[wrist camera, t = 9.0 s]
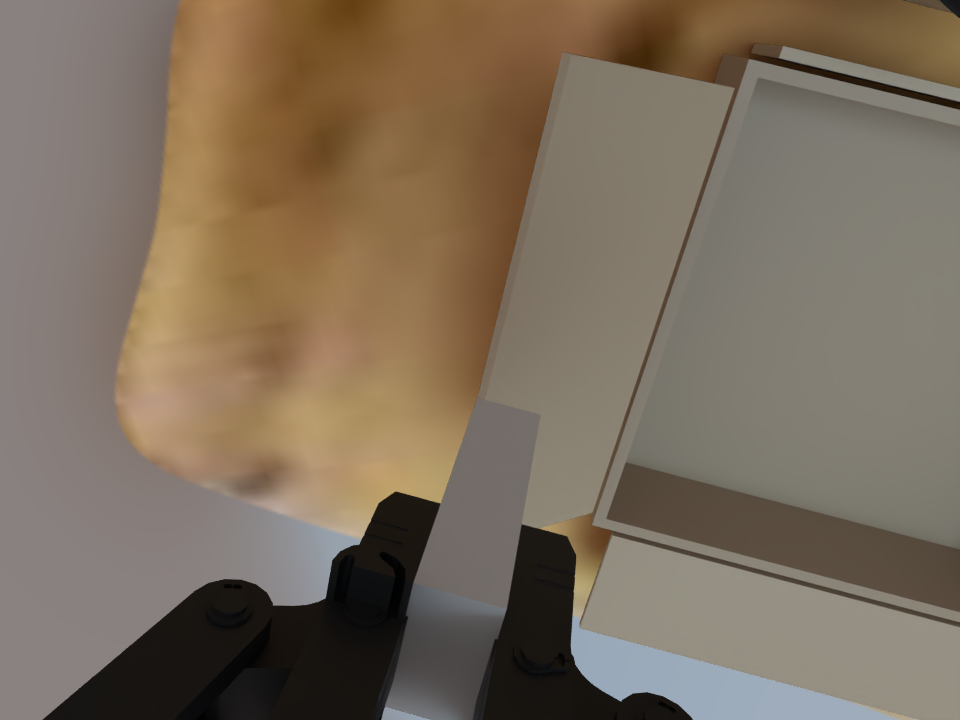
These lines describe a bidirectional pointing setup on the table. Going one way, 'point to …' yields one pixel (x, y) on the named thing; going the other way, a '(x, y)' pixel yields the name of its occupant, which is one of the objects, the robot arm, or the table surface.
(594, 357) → the flap
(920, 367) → the carton
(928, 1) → the coffee cup
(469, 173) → the table surface
